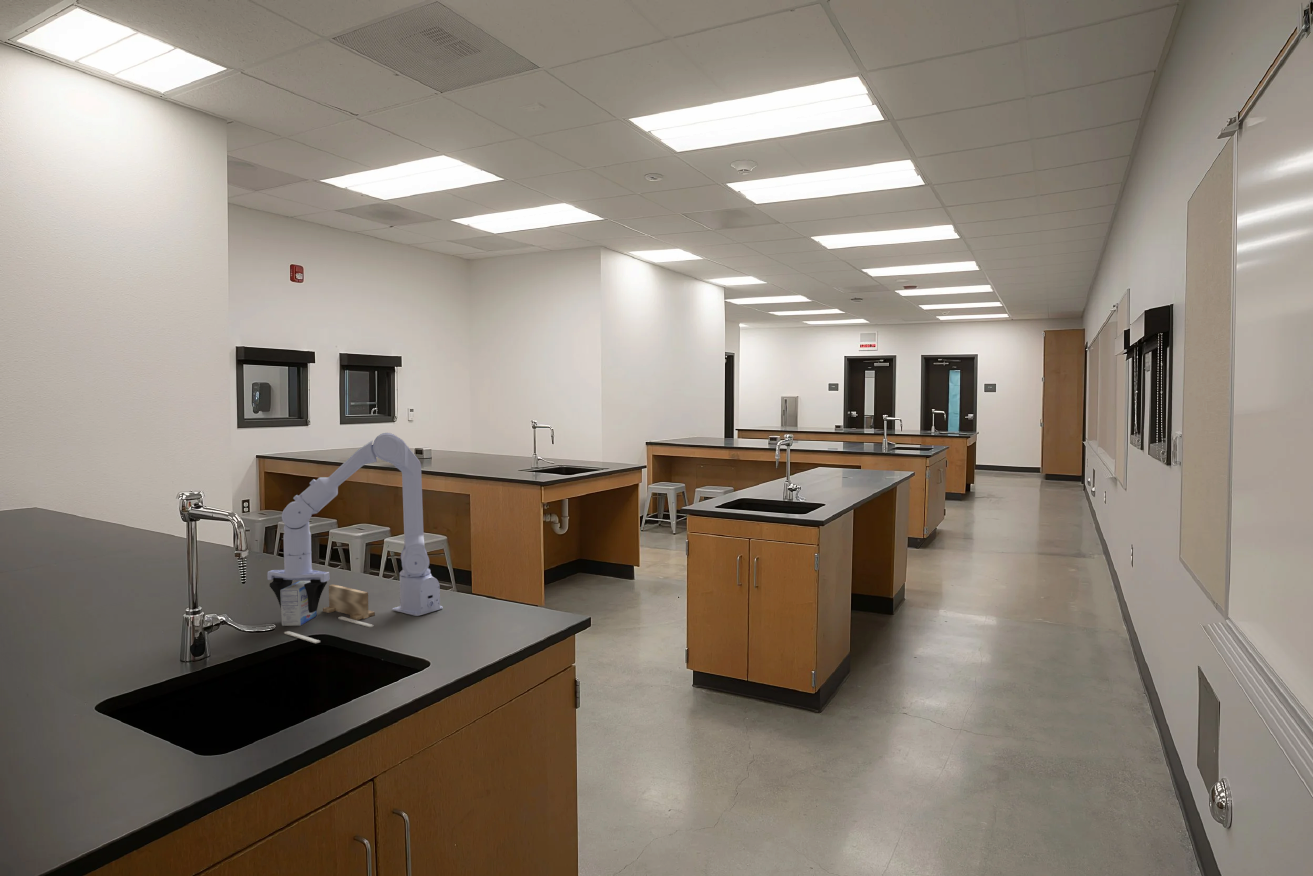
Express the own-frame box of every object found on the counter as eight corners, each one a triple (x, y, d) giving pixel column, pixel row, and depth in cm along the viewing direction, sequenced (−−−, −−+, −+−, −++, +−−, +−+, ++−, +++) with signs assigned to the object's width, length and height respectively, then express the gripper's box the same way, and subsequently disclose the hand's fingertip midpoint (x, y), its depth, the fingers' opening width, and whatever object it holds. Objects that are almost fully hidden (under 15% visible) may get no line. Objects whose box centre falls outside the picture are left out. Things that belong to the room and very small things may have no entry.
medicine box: (300, 626, 165) (299, 589, 164) (280, 626, 165) (279, 589, 164) (317, 616, 173) (316, 580, 172) (298, 616, 173) (297, 580, 172)
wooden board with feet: (375, 615, 173) (375, 590, 173) (356, 620, 169) (356, 595, 169) (340, 606, 181) (340, 582, 181) (322, 611, 177) (321, 587, 176)
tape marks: (373, 626, 165) (373, 625, 165) (315, 643, 153) (315, 642, 153) (342, 617, 171) (342, 616, 171) (284, 633, 160) (284, 632, 160)
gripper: (336, 550, 171) (337, 607, 171) (280, 548, 173) (282, 604, 174) (318, 557, 164) (319, 616, 165) (260, 555, 166) (262, 613, 167)
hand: (299, 610), depth 169 cm, fingers open, 6 cm apart
